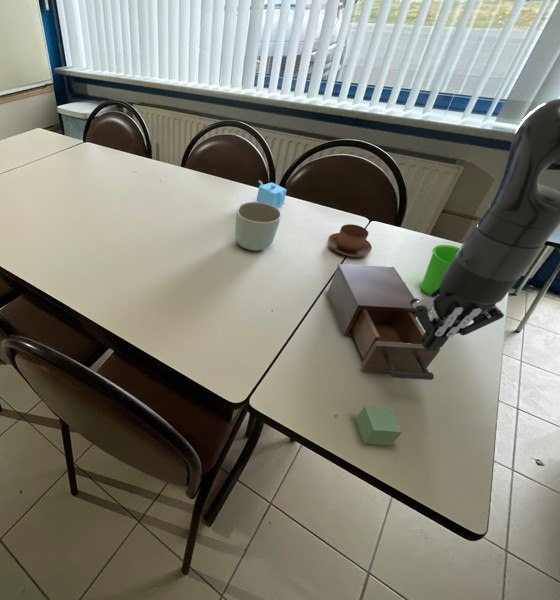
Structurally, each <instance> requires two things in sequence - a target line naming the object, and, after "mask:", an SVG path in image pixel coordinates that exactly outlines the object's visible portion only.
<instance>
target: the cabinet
mask: <svg viewBox="0 0 560 600" xmlns="http://www.w3.org/2000/svg"><path fill="white" fill-rule="evenodd" d="M326 295H327V298H328V300H329V303H330V305H331V308H332V311H333V313H334V316H335V318H336V320H337V323H338V326H339V328H340V331H341V333H342V335H343V337H344V336H345V337H354V336H353V334H352V331H351V328H352V326H353V324H354V322H355V320H356V318H357V316H358V314H359V312H360V310H361V309H376V310H393V311H411V312H412V314H413V315H414V317H415V318H416V319H417V316H416V314H415V312H414V309H413V307H412V305H411V303H410V301H411V300H412V299H414V298H415V296H414V295H413V294H412V291H411V290H410V288H409V287H408V286H407V284H406V283H405V281H404V280H403V278H402V277H401V275H400V273H398V271H397V270H396V268H395V266H388V265H387V266H385V265H366V264H348V263H347V264H345V263H338V264H337V266H336V269H335V271H334V274H333V276H332V279H331V282H330V285H329V287H328V289H327V292H326Z"/></svg>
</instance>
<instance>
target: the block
mask: <svg viewBox="0 0 560 600" xmlns="http://www.w3.org/2000/svg"><path fill="white" fill-rule="evenodd" d="M355 423H356V425H357V429H358V431H359V432H358V433H359V434H360V437H361V440H362V443H363V444H365V445H378V446H390V447H391V446H392V445H393V444H394V443H395V442H396V440H397V439H398V438H399V437H400V436H401V434H402V433H403V430H402V428H401V426H400V423H399V421H398V419H397V417H396V415H395V412H394V410H393V408H392V407H386V406H373V405H372V406H371V405H364V406H363V407H362V409H361V410H360V411H359V413H358V415H357V416H356V418H355Z"/></svg>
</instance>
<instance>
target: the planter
mask: <svg viewBox="0 0 560 600" xmlns="http://www.w3.org/2000/svg"><path fill="white" fill-rule="evenodd" d="M281 218H282V213H281V210H280V209H279V208H278V207H274V206H272V205H270V204H267V203H262V202H257V201H248V202H244V203H241V204H240V205H238V206H237V208H236V213H235V223H234V237H235V241H236V242H237V244H238V245H239V246H240V247H241V248H243V249H245V250H248V251H253V252H257V251H262V250H265V249H267V248H268V247H269V246H271V245H272V243H273V241H274V239H275V237H276V234H277V231H278V228H279V225H280V222H281Z"/></svg>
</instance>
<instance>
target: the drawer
mask: <svg viewBox="0 0 560 600" xmlns="http://www.w3.org/2000/svg"><path fill="white" fill-rule="evenodd" d="M351 331H352V334H353V336H352V337H353V338H354V340H355V343H356V346H357V347H358V350H359V352H360V355H361V357H362V359H363V361H362V363H361V364H360V367H361V369H362V370H363V371H373V372H387V373H389V374H390V377H391V378H397V379H410V380H411V379H412V380H426V381H432V380H434V378H435V375H434V373H433V372H431V371H429V370H428V367H429V365H430V364H431V363H432V362H433V361H434V359H435V358H436V356H437V355H438V354H439V353H440V351H441V348H439V349H438V350H437V351H427V350H425V348H424V346H423V345H422V343H421V338H422V336H423V335H424V333H425V330H424V329H423V327H422V325H421V324H420V322H419V321H418V319H417V317H416V318H415V317H414V315H413V314H412V312H411V311H393V310H376V309H361V310H360V312H359V314H358V316H357V318H356V320H355V322H354V324H353V326H352V328H351Z"/></svg>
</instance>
